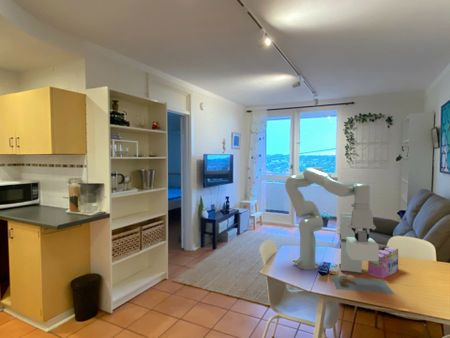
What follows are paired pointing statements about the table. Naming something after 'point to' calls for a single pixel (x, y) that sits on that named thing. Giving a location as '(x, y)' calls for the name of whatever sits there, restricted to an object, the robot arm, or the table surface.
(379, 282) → the board
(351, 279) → the brown egg
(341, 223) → the tall pale grey box
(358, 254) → the cover
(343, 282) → the walnut block
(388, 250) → the gum box
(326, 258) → the table surface
